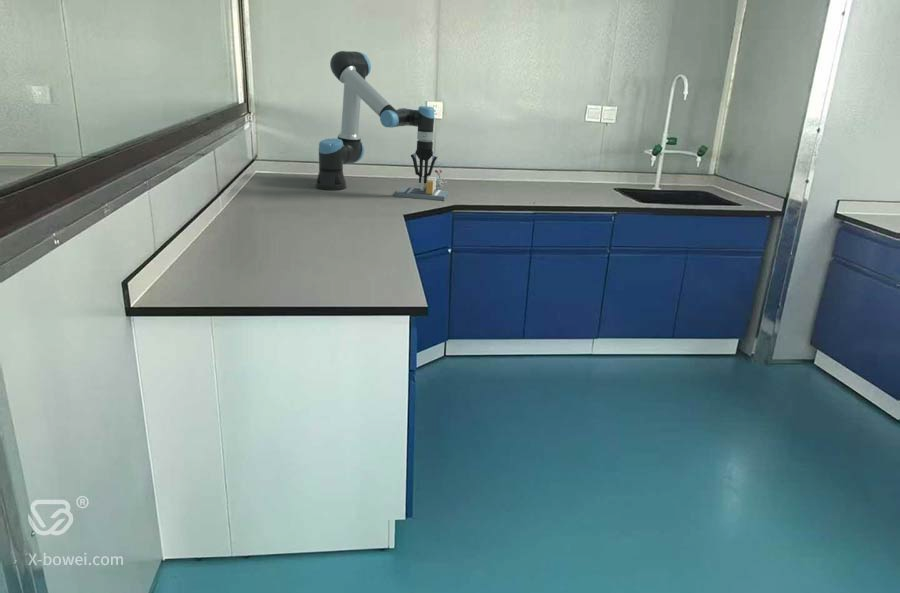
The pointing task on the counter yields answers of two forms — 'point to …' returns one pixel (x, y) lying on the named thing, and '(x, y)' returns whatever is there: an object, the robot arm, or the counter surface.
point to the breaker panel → (422, 192)
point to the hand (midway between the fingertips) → (422, 189)
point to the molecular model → (439, 179)
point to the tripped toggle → (429, 187)
